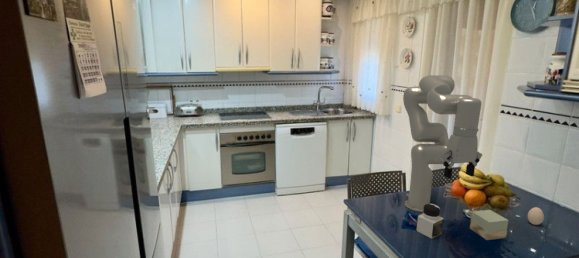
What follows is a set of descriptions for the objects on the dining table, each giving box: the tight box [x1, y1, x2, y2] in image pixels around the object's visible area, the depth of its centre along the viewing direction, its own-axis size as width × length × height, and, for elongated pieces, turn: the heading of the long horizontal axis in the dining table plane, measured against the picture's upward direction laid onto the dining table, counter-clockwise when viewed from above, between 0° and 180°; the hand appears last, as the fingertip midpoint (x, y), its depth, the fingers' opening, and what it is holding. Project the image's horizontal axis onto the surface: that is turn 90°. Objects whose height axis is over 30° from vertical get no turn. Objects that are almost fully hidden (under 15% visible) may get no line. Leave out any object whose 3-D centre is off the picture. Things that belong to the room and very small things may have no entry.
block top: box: [470, 209, 509, 232], centre depth 128 cm, size 9×9×4 cm
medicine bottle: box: [416, 203, 444, 239], centre depth 127 cm, size 7×7×12 cm
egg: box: [527, 206, 545, 226], centre depth 135 cm, size 6×6×8 cm
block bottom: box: [469, 220, 508, 241], centre depth 128 cm, size 9×9×4 cm
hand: (458, 176), depth 116 cm, fingers open, 9 cm apart
